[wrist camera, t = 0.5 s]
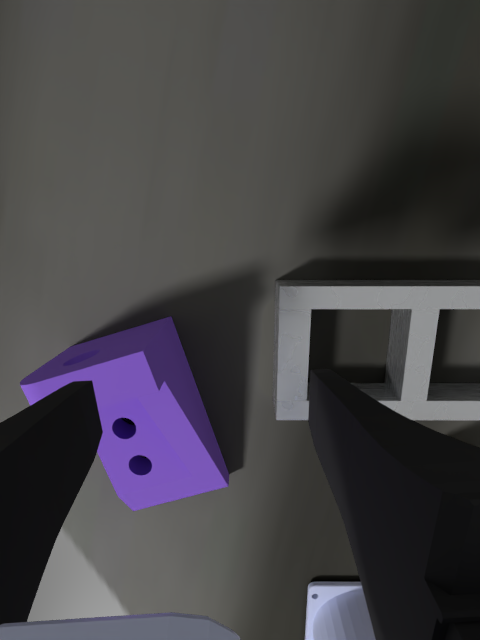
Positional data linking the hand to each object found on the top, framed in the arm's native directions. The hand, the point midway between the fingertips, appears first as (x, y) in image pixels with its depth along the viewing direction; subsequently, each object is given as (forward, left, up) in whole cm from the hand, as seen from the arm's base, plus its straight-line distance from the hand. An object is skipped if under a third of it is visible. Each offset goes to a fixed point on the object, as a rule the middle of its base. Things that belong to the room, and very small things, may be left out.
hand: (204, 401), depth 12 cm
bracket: (-6, +5, -11) cm, 14 cm away
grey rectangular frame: (-1, -11, -11) cm, 16 cm away
